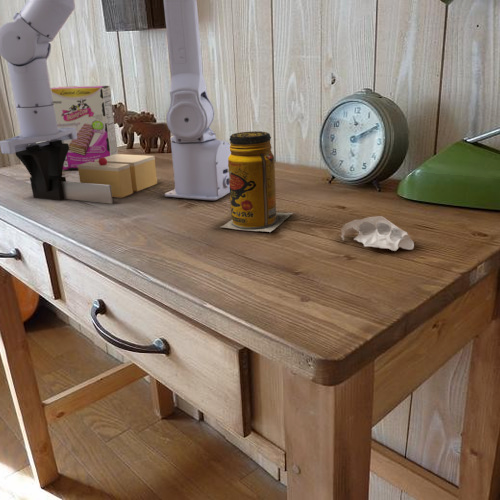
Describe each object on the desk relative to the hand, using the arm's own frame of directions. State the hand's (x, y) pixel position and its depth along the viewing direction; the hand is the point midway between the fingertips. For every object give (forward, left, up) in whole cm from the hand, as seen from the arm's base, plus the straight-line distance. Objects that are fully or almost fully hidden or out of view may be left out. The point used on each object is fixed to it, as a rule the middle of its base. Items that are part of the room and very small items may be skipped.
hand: (49, 189), depth 91 cm
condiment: (-39, +2, -2) cm, 39 cm away
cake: (-8, -10, -1) cm, 13 cm away
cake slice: (-8, -5, -1) cm, 9 cm away
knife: (-5, 0, -1) cm, 5 cm away
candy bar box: (+10, -21, -2) cm, 24 cm away
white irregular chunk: (-56, +6, -2) cm, 56 cm away
